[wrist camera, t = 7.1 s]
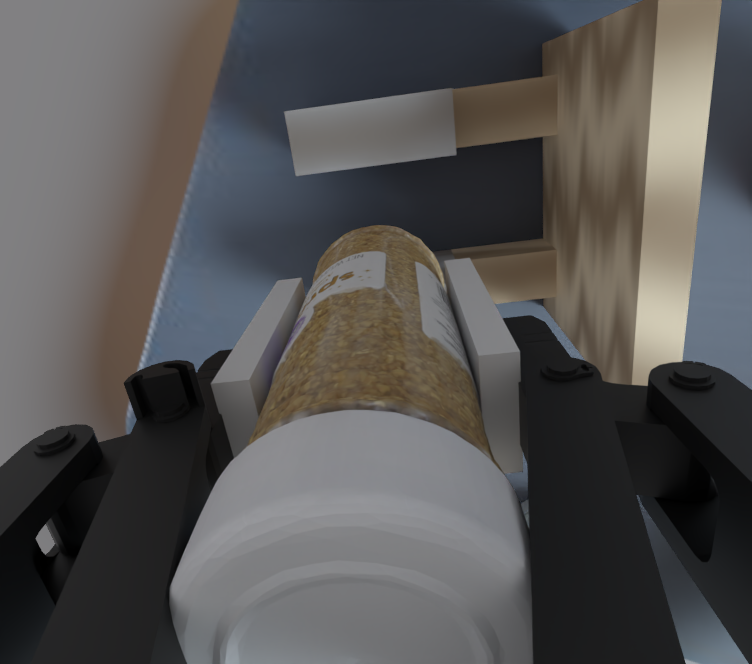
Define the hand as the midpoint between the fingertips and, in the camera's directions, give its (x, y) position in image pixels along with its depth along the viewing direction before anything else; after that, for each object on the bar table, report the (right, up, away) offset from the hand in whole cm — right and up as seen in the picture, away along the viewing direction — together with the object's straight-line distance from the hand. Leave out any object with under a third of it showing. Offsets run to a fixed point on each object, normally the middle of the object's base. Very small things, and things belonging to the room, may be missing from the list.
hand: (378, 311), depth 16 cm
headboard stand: (+4, +8, +17) cm, 19 cm away
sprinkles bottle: (0, +1, +2) cm, 2 cm away
